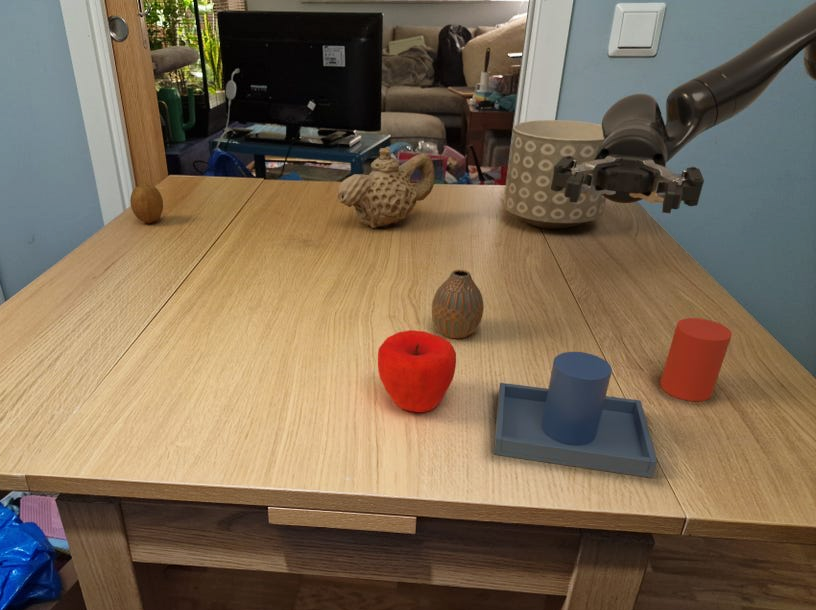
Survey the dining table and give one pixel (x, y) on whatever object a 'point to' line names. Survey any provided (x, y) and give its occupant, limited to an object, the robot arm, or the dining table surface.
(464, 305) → the vase
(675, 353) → the red canister
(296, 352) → the dining table surface
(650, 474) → the blue tray
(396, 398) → the apple
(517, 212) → the planter
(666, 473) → the dining table surface
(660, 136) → the robot arm
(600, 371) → the blue canister
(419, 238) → the dining table surface
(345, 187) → the teapot
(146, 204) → the fruit
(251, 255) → the dining table surface
